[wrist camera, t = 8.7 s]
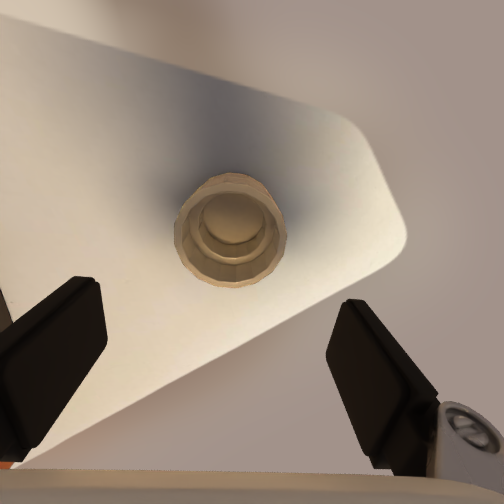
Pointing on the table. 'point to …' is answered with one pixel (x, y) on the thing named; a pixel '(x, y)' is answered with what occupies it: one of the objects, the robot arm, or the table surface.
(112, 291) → the table surface
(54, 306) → the robot arm
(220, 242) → the little bowl
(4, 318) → the scale
